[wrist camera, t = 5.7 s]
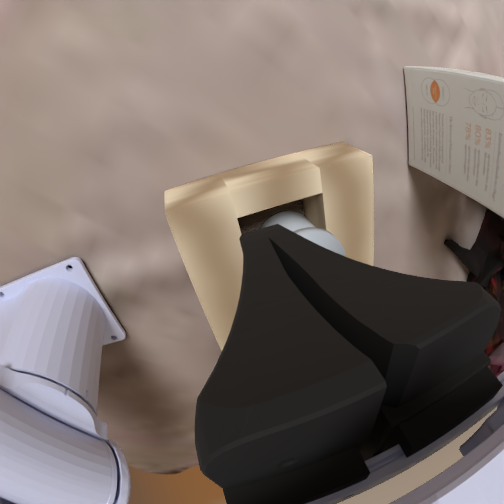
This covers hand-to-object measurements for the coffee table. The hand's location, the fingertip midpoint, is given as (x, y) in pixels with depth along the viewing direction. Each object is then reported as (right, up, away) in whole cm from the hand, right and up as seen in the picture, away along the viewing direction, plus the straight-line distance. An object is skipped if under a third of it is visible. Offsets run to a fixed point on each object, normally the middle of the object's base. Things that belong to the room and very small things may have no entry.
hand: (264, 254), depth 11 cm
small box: (+14, +11, +10) cm, 20 cm away
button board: (+2, -4, +15) cm, 16 cm away
